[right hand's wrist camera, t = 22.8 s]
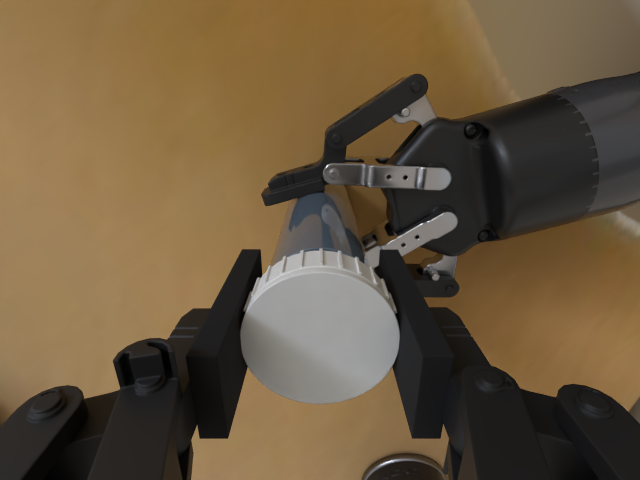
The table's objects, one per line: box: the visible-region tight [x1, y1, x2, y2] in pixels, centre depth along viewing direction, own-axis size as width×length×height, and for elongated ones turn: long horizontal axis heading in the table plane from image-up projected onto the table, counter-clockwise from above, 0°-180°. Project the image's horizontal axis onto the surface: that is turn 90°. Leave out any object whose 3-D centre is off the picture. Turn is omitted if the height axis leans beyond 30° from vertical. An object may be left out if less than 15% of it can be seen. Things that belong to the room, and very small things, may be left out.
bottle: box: [270, 184, 370, 267], centre depth 20 cm, size 4×4×17 cm
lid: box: [240, 248, 400, 404], centre depth 12 cm, size 5×5×2 cm
